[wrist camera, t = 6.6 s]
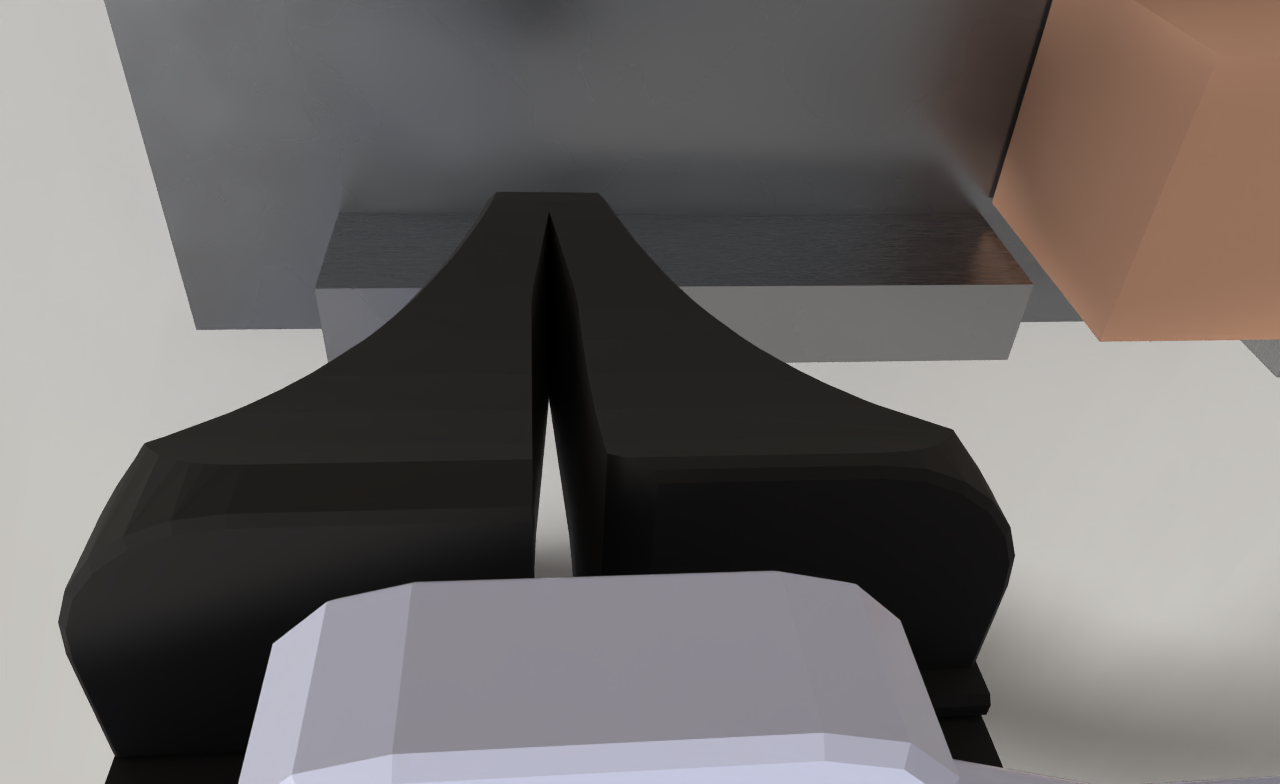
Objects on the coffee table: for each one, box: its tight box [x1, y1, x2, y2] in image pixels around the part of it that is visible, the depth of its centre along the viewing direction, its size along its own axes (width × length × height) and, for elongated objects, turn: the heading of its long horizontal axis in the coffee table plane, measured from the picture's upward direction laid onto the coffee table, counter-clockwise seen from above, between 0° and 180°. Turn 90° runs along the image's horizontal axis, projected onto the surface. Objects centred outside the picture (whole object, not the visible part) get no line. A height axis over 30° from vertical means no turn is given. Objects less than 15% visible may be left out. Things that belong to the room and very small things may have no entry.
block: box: [992, 0, 1280, 342], centre depth 16 cm, size 4×5×4 cm
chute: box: [104, 0, 1280, 377], centre depth 16 cm, size 10×22×4 cm, turn 87°
